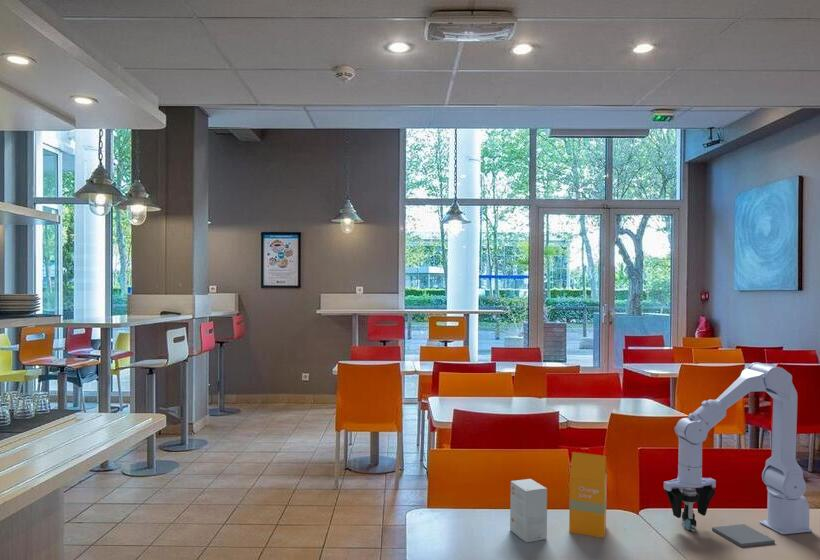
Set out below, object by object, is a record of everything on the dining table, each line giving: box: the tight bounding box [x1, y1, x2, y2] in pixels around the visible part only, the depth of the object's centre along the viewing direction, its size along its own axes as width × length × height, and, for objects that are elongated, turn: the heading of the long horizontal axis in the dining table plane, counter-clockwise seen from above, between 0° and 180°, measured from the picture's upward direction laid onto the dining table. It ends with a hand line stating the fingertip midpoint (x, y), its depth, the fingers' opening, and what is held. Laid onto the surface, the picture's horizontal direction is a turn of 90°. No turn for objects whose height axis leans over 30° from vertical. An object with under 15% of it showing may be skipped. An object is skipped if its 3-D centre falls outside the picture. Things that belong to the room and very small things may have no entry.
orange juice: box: [568, 451, 608, 538], centre depth 158 cm, size 8×9×20 cm
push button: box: [679, 488, 700, 533], centre depth 159 cm, size 7×5×10 cm
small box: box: [509, 478, 548, 543], centre depth 154 cm, size 8×6×13 cm
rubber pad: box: [711, 523, 776, 548], centre depth 154 cm, size 10×10×1 cm
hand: (689, 515), depth 159 cm, fingers open, 7 cm apart
